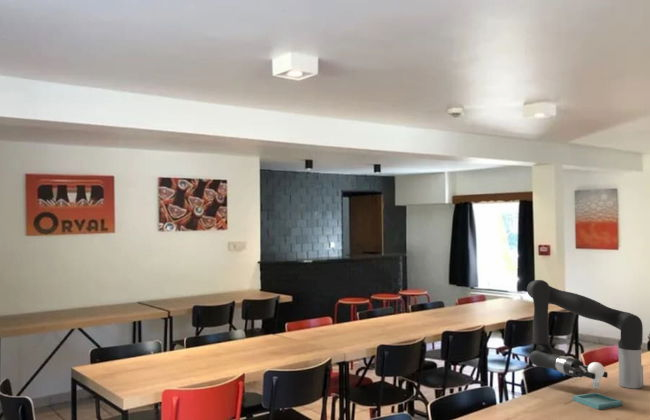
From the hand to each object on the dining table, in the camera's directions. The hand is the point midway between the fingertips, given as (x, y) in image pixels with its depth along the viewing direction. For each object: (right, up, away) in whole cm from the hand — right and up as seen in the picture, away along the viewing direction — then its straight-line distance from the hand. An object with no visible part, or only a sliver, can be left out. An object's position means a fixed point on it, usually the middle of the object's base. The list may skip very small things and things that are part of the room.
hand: (600, 375), depth 231 cm
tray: (-1, -12, +2) cm, 12 cm away
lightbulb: (-1, -6, +2) cm, 7 cm away
